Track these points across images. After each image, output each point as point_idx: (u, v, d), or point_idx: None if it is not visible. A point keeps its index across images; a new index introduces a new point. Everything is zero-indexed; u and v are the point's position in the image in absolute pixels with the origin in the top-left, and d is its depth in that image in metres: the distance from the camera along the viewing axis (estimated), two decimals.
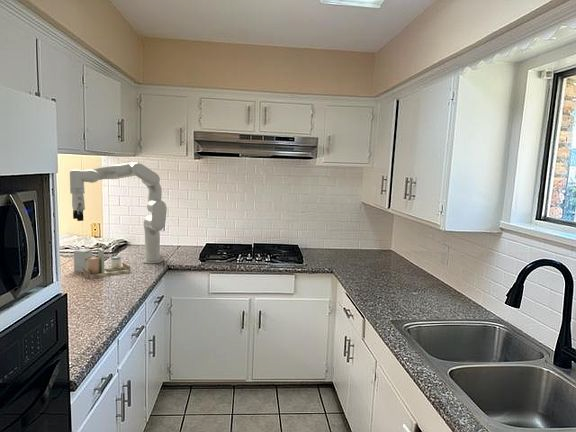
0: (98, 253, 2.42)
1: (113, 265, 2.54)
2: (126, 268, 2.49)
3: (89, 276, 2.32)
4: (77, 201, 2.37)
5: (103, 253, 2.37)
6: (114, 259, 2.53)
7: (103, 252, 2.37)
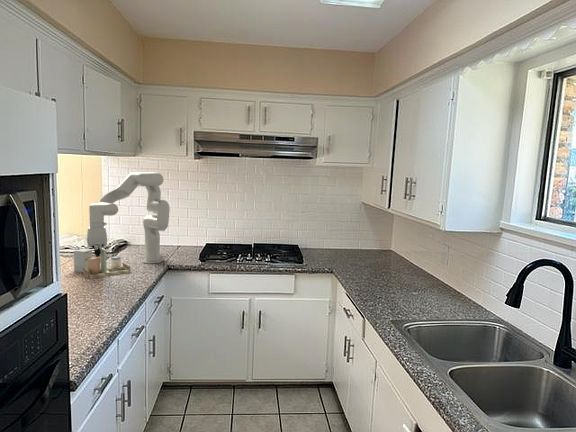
0: None
1: (113, 265, 2.54)
2: (126, 268, 2.49)
3: (89, 276, 2.32)
4: (106, 234, 2.39)
5: (105, 253, 2.38)
6: (114, 259, 2.53)
7: (105, 252, 2.38)
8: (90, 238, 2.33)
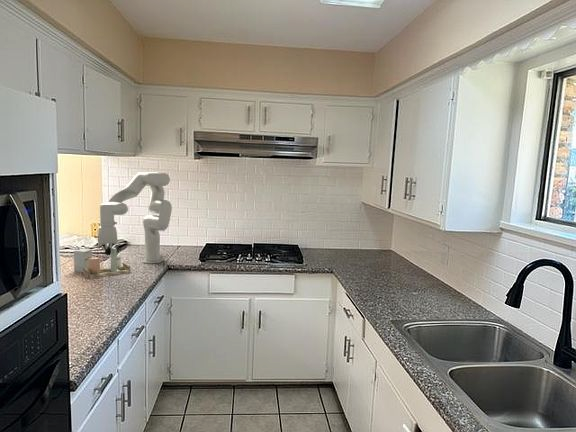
0: None
1: None
2: (126, 268, 2.49)
3: (89, 276, 2.32)
4: (116, 233, 2.43)
5: (116, 252, 2.42)
6: None
7: (116, 251, 2.42)
8: (101, 237, 2.37)
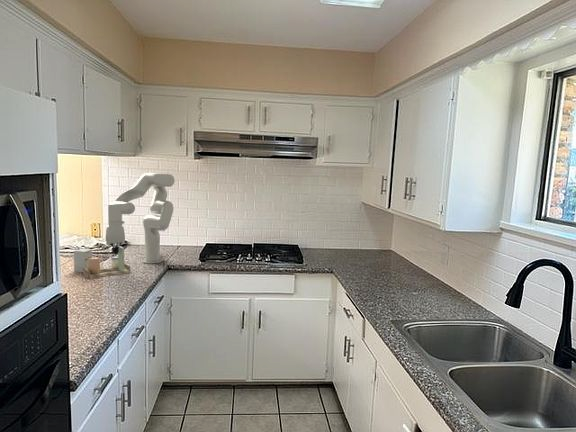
0: None
1: (113, 265, 2.54)
2: (126, 268, 2.49)
3: (89, 276, 2.32)
4: None
5: (123, 251, 2.44)
6: (114, 259, 2.53)
7: (123, 250, 2.44)
8: (109, 236, 2.40)
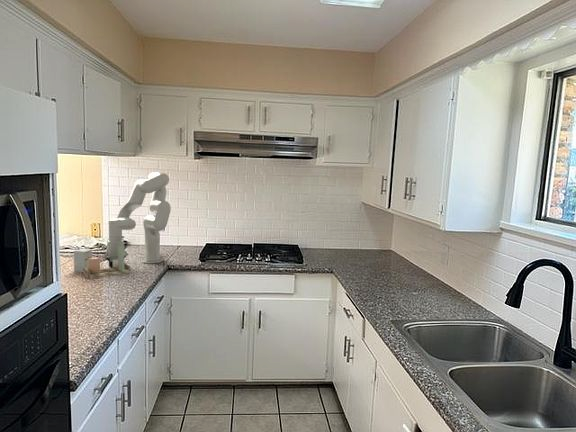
0: (118, 251, 2.49)
1: (113, 265, 2.54)
2: (126, 268, 2.49)
3: (89, 276, 2.32)
4: None
5: (123, 251, 2.44)
6: (114, 259, 2.53)
7: (123, 250, 2.44)
8: (109, 251, 2.51)
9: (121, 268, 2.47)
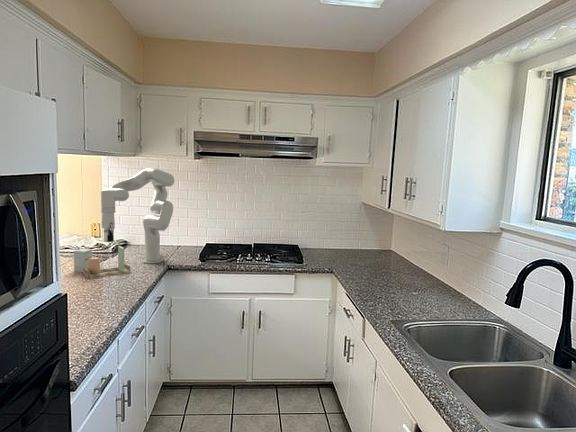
0: (118, 251, 2.49)
1: None
2: (126, 268, 2.49)
3: (89, 276, 2.32)
4: None
5: (123, 251, 2.44)
6: (113, 231, 2.41)
7: (123, 250, 2.44)
8: (114, 223, 2.39)
9: (121, 268, 2.47)
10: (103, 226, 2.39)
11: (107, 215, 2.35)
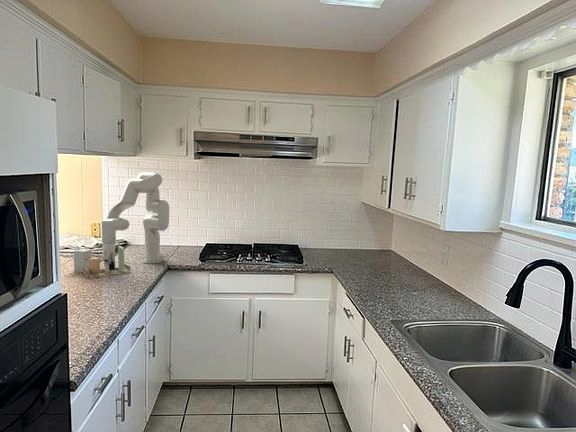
0: (118, 251, 2.49)
1: None
2: (126, 268, 2.49)
3: (89, 276, 2.32)
4: None
5: (123, 251, 2.44)
6: None
7: (123, 250, 2.44)
8: None
9: (121, 268, 2.47)
10: (104, 256, 2.42)
11: (108, 245, 2.38)
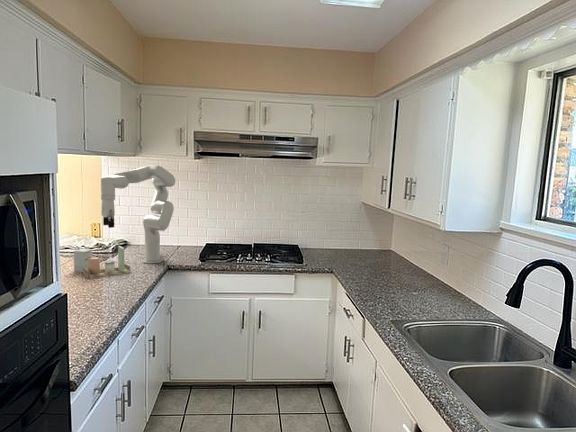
0: (118, 251, 2.49)
1: (113, 269, 2.44)
2: (126, 268, 2.49)
3: (89, 276, 2.32)
4: None
5: (123, 251, 2.44)
6: None
7: (123, 250, 2.44)
8: None
9: (121, 268, 2.47)
10: (103, 213, 2.38)
11: (107, 202, 2.35)
